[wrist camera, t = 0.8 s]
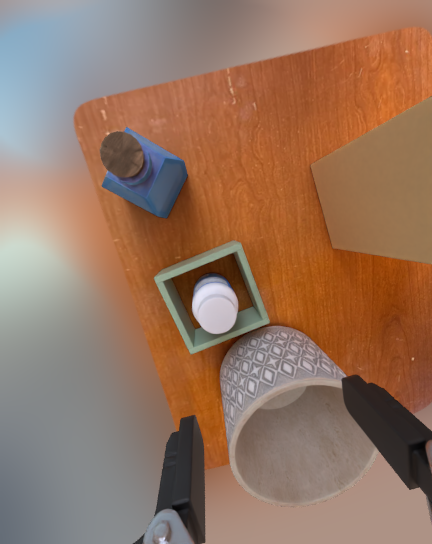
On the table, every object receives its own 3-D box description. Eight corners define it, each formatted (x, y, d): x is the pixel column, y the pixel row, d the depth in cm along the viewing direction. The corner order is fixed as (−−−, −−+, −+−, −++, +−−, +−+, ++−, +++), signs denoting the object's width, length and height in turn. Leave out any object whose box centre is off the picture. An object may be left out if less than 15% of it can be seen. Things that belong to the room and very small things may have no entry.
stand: (309, 165, 28) (442, 89, 13) (394, 130, 28) (633, 10, 13) (332, 248, 31) (465, 270, 15) (409, 216, 31) (623, 207, 15)
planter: (338, 363, 35) (412, 437, 23) (268, 427, 37) (302, 528, 25) (270, 301, 32) (314, 348, 20) (197, 374, 34) (195, 460, 21)
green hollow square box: (161, 269, 30) (153, 278, 25) (234, 239, 30) (240, 242, 25) (192, 335, 32) (190, 355, 28) (260, 308, 32) (270, 323, 27)
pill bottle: (228, 308, 32) (239, 343, 22) (192, 305, 31) (188, 340, 22) (232, 273, 31) (246, 294, 21) (195, 269, 30) (192, 289, 21)
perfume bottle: (166, 218, 29) (143, 212, 17) (123, 195, 28) (65, 171, 16) (187, 175, 28) (177, 137, 16) (143, 149, 27) (98, 89, 15)
